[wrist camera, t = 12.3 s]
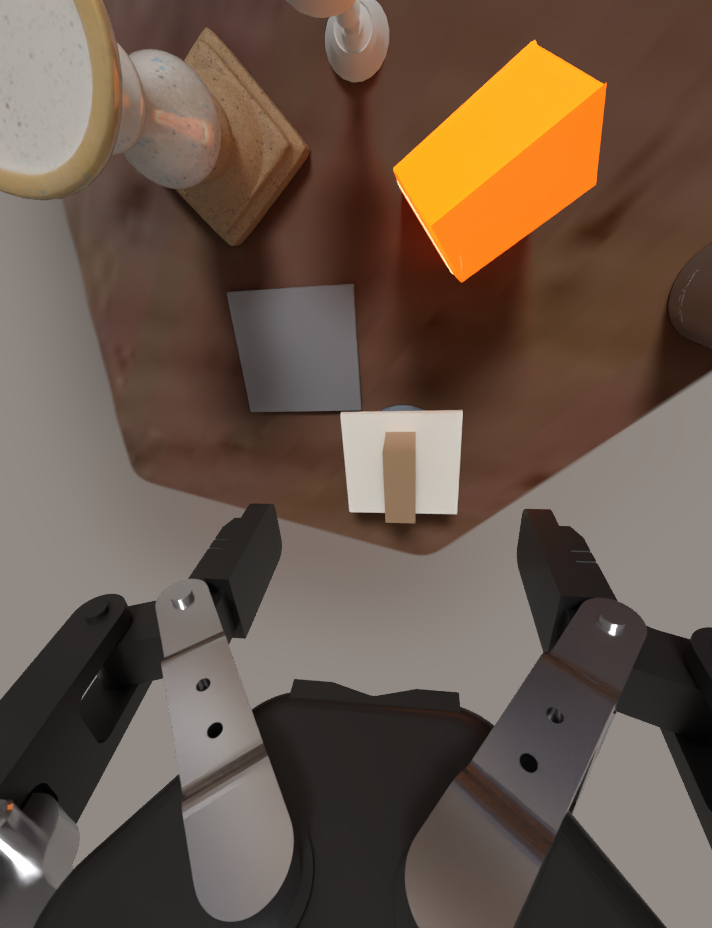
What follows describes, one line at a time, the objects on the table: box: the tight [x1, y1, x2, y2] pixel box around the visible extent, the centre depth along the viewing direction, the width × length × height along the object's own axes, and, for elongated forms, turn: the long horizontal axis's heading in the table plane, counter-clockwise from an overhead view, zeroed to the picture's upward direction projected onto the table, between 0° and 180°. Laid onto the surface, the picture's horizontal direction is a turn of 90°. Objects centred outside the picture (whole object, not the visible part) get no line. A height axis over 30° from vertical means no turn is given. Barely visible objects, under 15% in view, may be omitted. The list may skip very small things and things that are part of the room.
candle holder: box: [0, 0, 310, 246], centre depth 27 cm, size 11×11×24 cm
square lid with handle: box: [340, 410, 463, 523], centre depth 42 cm, size 12×12×5 cm
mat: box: [227, 284, 362, 412], centre depth 45 cm, size 13×13×1 cm
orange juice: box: [393, 40, 607, 283], centre depth 28 cm, size 8×9×20 cm
